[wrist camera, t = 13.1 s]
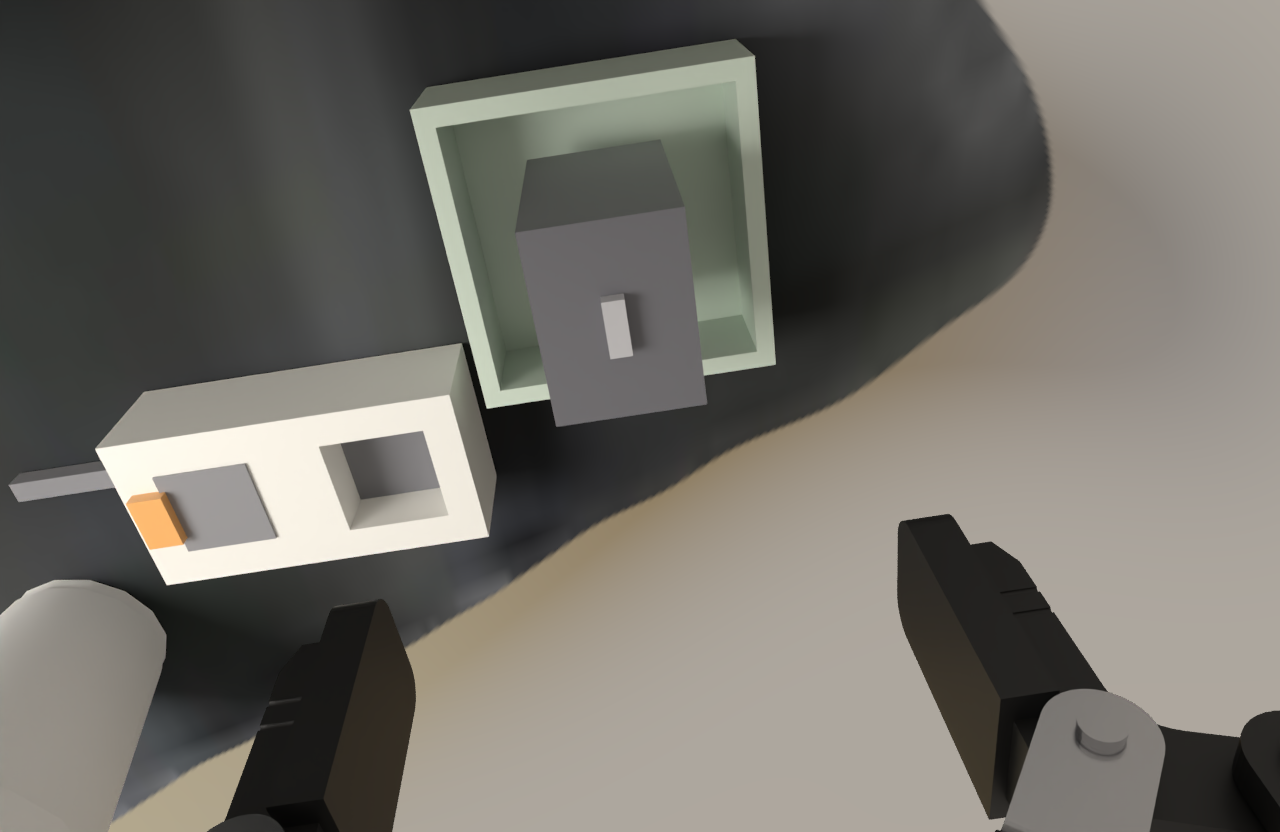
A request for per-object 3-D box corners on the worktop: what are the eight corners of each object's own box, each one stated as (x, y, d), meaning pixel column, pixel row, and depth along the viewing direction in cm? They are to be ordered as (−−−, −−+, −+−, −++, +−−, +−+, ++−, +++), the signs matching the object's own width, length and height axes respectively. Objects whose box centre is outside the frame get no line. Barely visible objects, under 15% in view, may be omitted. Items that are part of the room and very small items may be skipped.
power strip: (-14, 416, 34) (-91, 484, 30) (461, 343, 33) (447, 402, 30) (60, 542, 37) (-1, 618, 33) (496, 475, 36) (487, 545, 33)
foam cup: (139, 739, 43) (-16, 1042, 31) (-64, 650, 39) (-321, 954, 28) (243, 620, 39) (113, 909, 28) (32, 511, 36) (-214, 792, 25)
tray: (426, 87, 29) (409, 110, 26) (735, 39, 29) (754, 55, 26) (494, 362, 34) (486, 408, 31) (757, 322, 34) (775, 364, 31)
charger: (529, 146, 30) (514, 238, 22) (655, 126, 30) (686, 211, 22) (559, 302, 32) (556, 434, 24) (675, 284, 32) (708, 411, 24)
